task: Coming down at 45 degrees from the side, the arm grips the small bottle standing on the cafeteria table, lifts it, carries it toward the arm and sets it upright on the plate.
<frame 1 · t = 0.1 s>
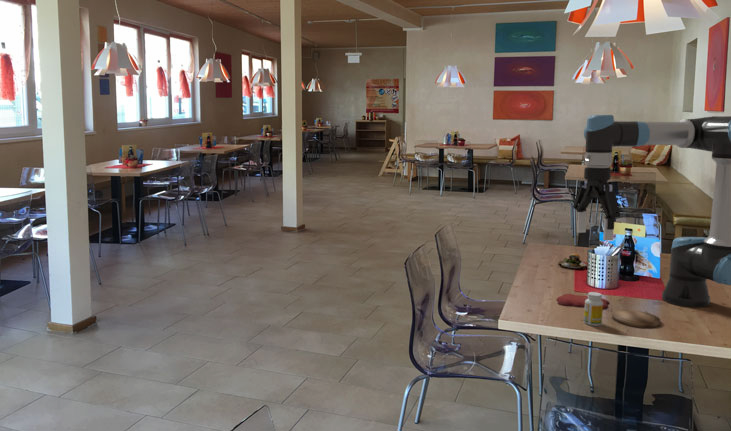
hand: (594, 236, 189), 28 cm above the table, tool pointing down, fingers open, 13 cm apart
plate: (635, 320, 197), on the table
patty: (582, 304, 216), on the table
burger: (572, 267, 269), on the table
supplement bottle: (592, 323, 194), on the table
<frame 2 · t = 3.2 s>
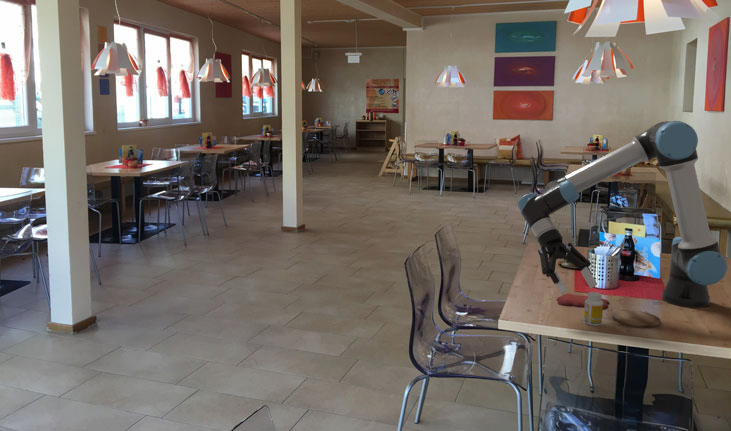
hand: (579, 288, 197), 10 cm above the table, tool tilted 45°, fingers open, 13 cm apart
nothing on the table moved.
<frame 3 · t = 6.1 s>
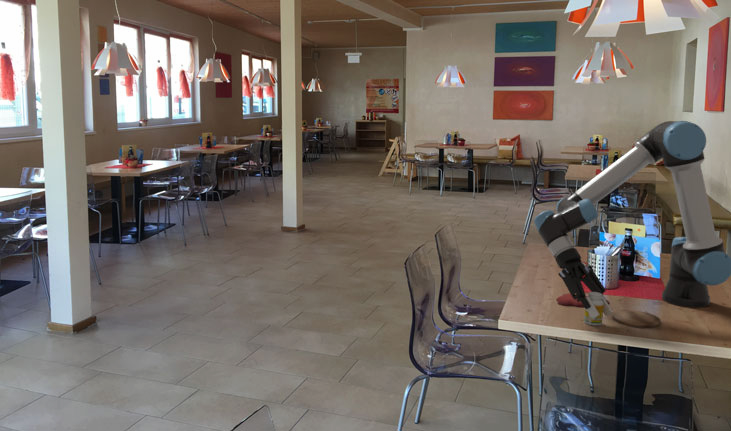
hand: (602, 315, 191), 3 cm above the table, tool tilted 45°, fingers closed on supplement bottle, 5 cm apart
supplement bottle: (592, 323, 194), on the table, touching gripper
everything else where it was.
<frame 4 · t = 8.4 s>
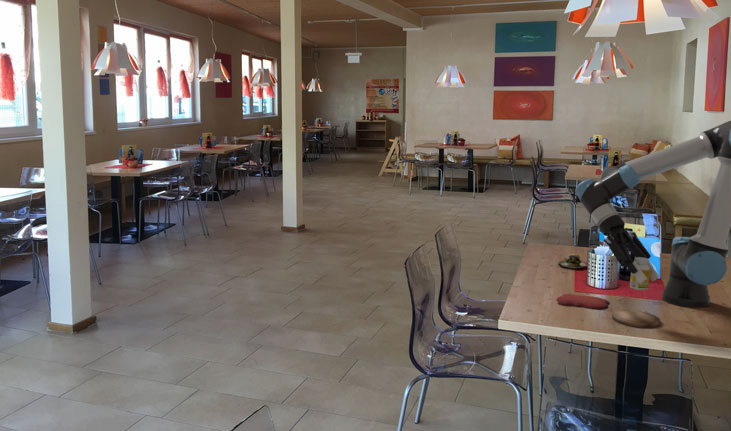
hand: (649, 280, 192), 14 cm above the table, tool tilted 45°, fingers closed on supplement bottle, 5 cm apart
supplement bottle: (639, 288, 195), point 10 cm above the table, touching gripper
everything else where it was.
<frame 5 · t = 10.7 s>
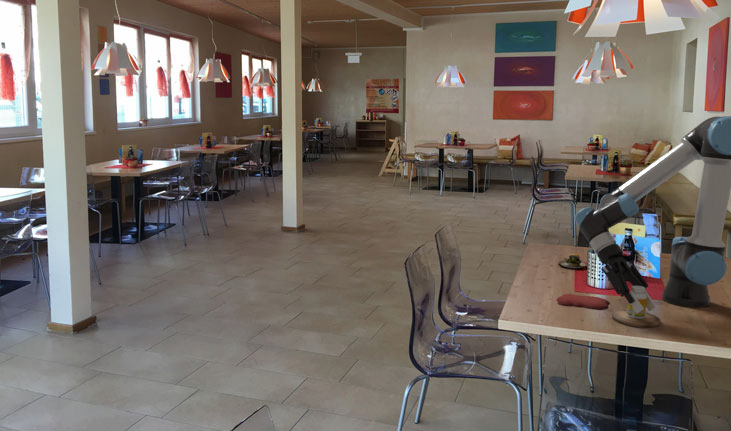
hand: (646, 310, 193), 4 cm above the table, tool tilted 45°, fingers closed on supplement bottle, 5 cm apart
supplement bottle: (635, 317, 197), point 1 cm above the table, touching gripper, plate
everything else where it was.
when the fingers open (4 cm above the table, at t = 11.0 s): supplement bottle stays where it is, resting on plate.
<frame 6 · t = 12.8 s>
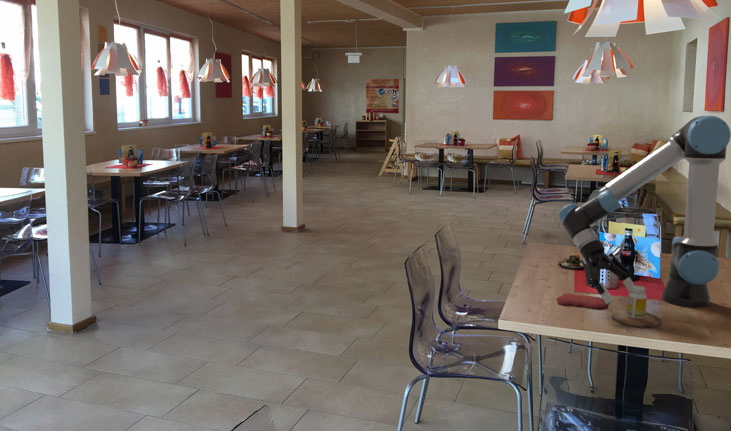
hand: (623, 299, 200), 6 cm above the table, tool tilted 45°, fingers open, 13 cm apart
supplement bottle: (635, 317, 197), point 1 cm above the table, touching plate
everything else where it was.
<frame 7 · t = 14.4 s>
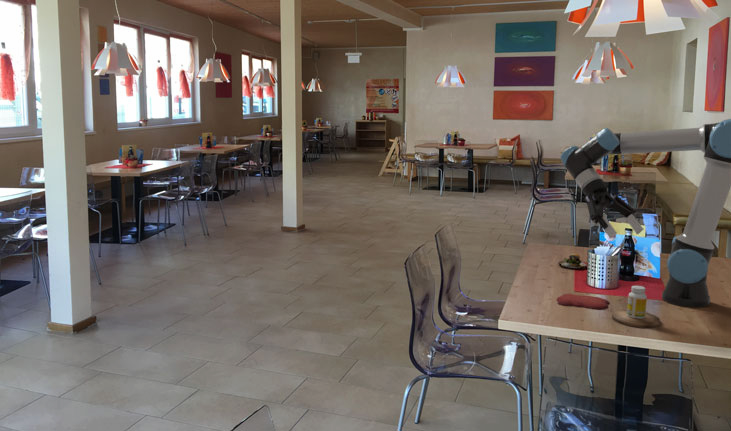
hand: (627, 233, 203), 26 cm above the table, tool tilted 45°, fingers open, 13 cm apart
nothing on the table moved.
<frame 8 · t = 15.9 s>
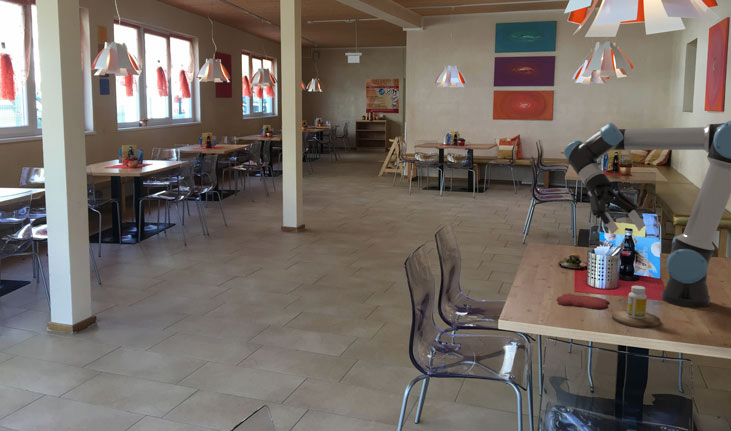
hand: (628, 229, 203), 28 cm above the table, tool tilted 45°, fingers open, 13 cm apart
nothing on the table moved.
at the end: supplement bottle 0.2 cm from the plate (horizontally); supplement bottle tilted 0°; the gripper is holding nothing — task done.
